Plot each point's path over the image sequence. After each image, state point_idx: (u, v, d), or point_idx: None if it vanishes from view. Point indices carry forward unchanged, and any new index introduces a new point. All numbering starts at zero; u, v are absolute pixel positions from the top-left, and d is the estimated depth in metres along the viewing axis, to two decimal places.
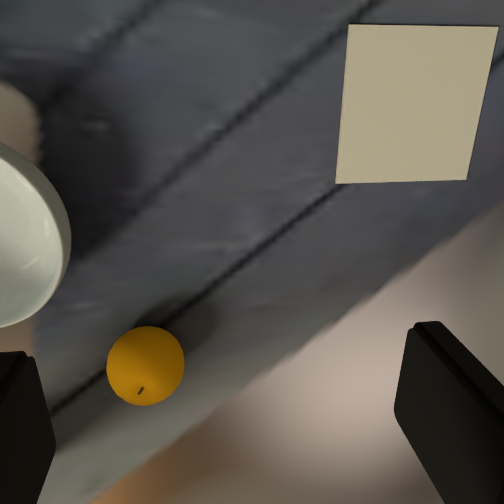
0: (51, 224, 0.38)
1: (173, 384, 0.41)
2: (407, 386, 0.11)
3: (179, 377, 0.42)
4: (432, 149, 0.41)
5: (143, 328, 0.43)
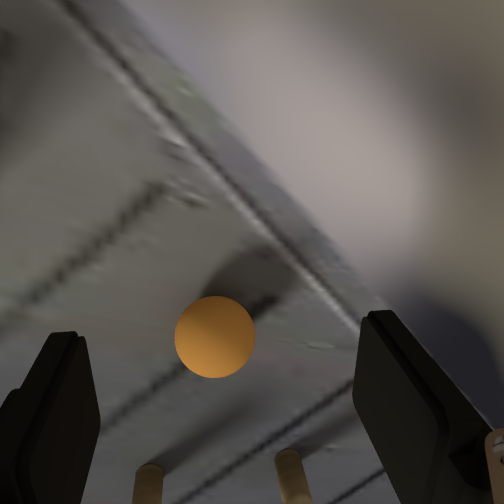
0: None
1: None
2: (362, 372, 0.11)
3: None
4: None
5: None
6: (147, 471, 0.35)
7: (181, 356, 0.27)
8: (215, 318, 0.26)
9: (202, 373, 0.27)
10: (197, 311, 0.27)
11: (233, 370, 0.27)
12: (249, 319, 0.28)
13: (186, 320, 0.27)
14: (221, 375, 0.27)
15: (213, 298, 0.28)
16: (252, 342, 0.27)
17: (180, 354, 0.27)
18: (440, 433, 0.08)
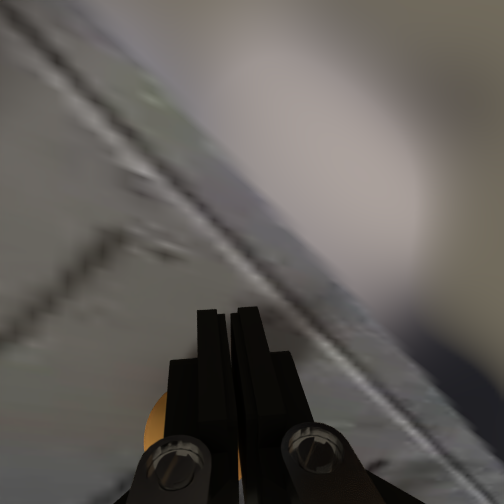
0: None
1: None
2: (232, 368, 0.11)
3: None
4: None
5: None
6: None
7: None
8: None
9: None
10: None
11: None
12: None
13: (159, 423, 0.19)
14: None
15: None
16: None
17: None
18: (251, 426, 0.08)
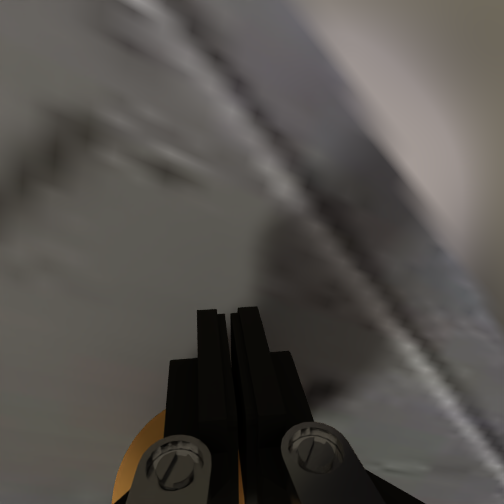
0: None
1: None
2: (232, 368, 0.11)
3: None
4: None
5: None
6: None
7: None
8: None
9: None
10: None
11: None
12: None
13: None
14: None
15: None
16: None
17: None
18: (251, 426, 0.08)
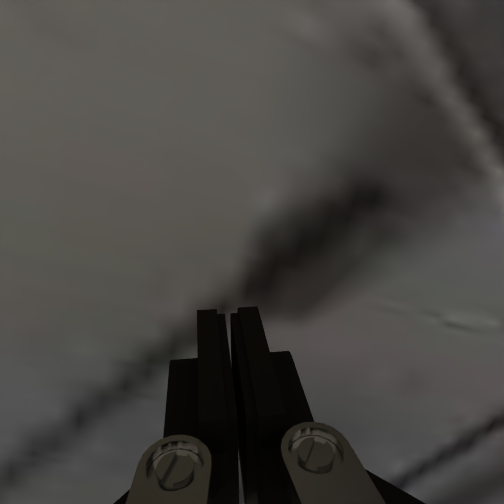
0: None
1: None
2: (232, 368, 0.11)
3: None
4: None
5: None
6: None
7: None
8: None
9: None
10: None
11: None
12: None
13: None
14: None
15: None
16: None
17: None
18: (251, 426, 0.08)
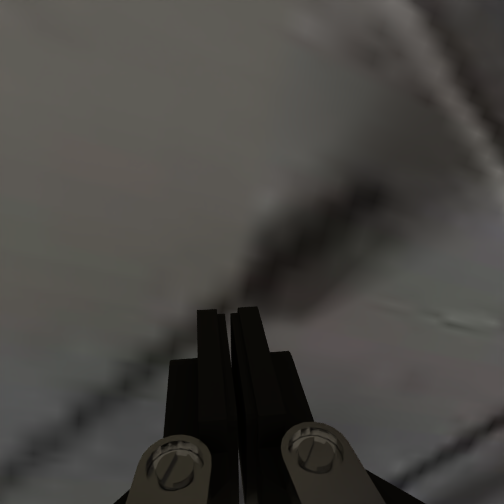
0: None
1: None
2: (232, 368, 0.11)
3: None
4: None
5: None
6: None
7: None
8: None
9: None
10: None
11: None
12: None
13: None
14: None
15: None
16: None
17: None
18: (251, 426, 0.08)
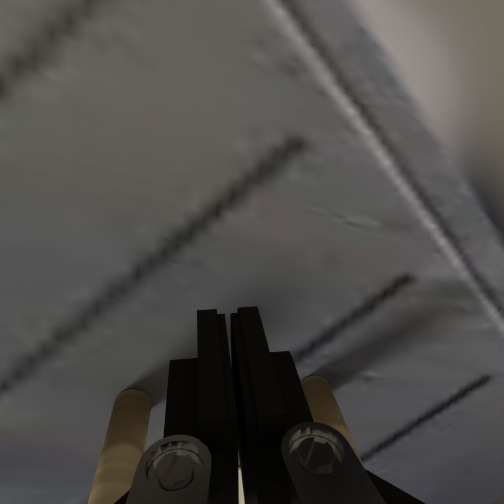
0: None
1: None
2: (232, 368, 0.11)
3: None
4: None
5: None
6: (129, 396, 0.27)
7: None
8: None
9: None
10: None
11: None
12: None
13: None
14: None
15: None
16: None
17: None
18: (251, 426, 0.08)
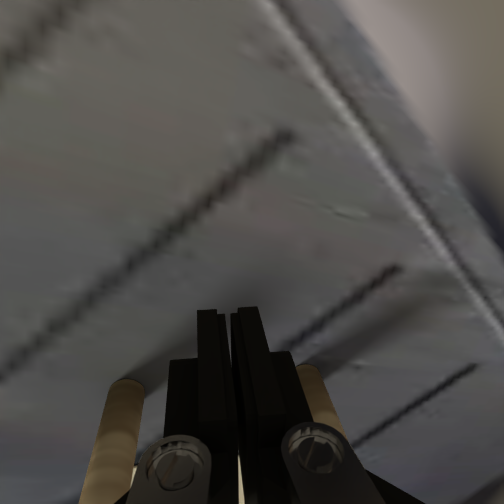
0: None
1: None
2: (232, 368, 0.11)
3: None
4: None
5: None
6: (122, 386, 0.27)
7: None
8: None
9: None
10: None
11: None
12: None
13: None
14: None
15: None
16: None
17: None
18: (251, 426, 0.08)
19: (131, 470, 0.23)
